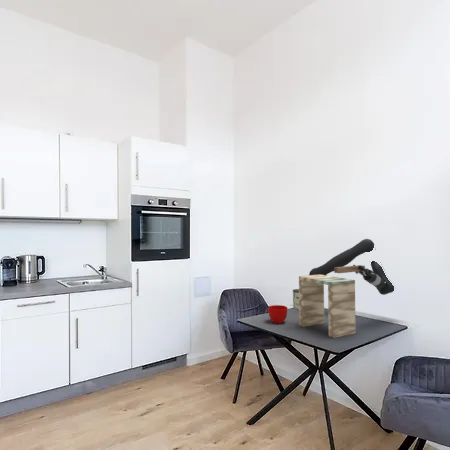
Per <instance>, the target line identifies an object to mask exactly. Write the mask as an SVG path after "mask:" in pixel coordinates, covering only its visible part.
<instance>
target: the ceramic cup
mask: <svg viewBox="0 0 450 450" xmlns="http://www.w3.org/2000/svg"><path fill="white" fill-rule="evenodd" d="M267 310H268V316H269V318H270V320H271V321H272V323H274V324H283V323H284V322H285V320H286V318H287V316H288V307H287V306H286V305H279V304H274V305H272V304H271V305H268V309H267Z"/></svg>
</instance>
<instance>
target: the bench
mask: <svg viewBox="0 0 450 450" xmlns="http://www.w3.org/2000/svg"><path fill="white" fill-rule="evenodd" d="M325 286H327V301H328V302H327V303H328V304H327V306H328V308H327V309H328V310H327V311H328V312H327V313H328V315H327V316H328V318H327V319H328V337H329V338H333V339H335V338H339V337H345V336H350V335H353V334H356V330H357V329H356V327H357V326H356V279H350V278H345V277H344V278H343V277H339V276H331V275H320V274H318V275H309V274H308V275H300V276H298V289H299V309H298V310H299V311H298V315H299V317H298V321H299V322H298V323H299V326H301V327H303V328H304V327H309V326H316V325H321V324H325Z"/></svg>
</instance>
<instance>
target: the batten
mask: <svg viewBox="0 0 450 450" xmlns="http://www.w3.org/2000/svg"><path fill="white" fill-rule="evenodd" d="M359 265H360V266H362V267H363V268H365V269H366V266H365V265H363V264H362V265H361V264H358V265H356V266H353V265H348V266H347V265H345V266H344V267H334V271H333V272H334V273H335V274H347V273H355V272H358V271H361V270H360V269H358V267H359Z"/></svg>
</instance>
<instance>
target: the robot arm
mask: <svg viewBox="0 0 450 450" xmlns="http://www.w3.org/2000/svg"><path fill="white" fill-rule="evenodd" d="M374 245H375V243H374V241H373V240H372V239H370V238H364V239H362V240H361V241H359V242H358V243H356V244H355V245H353V246H352V247H350V248H347V249H346V250H344V251H342V252H339V254H337V255H335V256H333V257H332V258H331V259H329V260H327V262H325V263H324V264H322V265H320V266H317V267H314V268H312V269H311V270H310V271H309V273H308V275H318V274H320V275H326V276H328V274H330V273H332V272H334V267H345V266H347V265H349V264H350V263H352V261H354V260H355V259H356V258H357V257H359V256H361V255H363V254H365V252H370V251H372V250H373V248H374ZM358 265H359V267H358V269H360V270H361V271H358V272H354V273H355V274H356V275H360V276H362V279H363V280H365V282H366V283H368V284H370V285H372V286H373V287H375V288H376V290H377V291H378V293H379V294H380V295H382V296H385V295H388V294H391V293H394V292H395V291H394V286H395V285H394V286H393V285H392V283H393V282H392V281H391V280H390V279H389V280H390V281H391V282H392V283H391V282H390V281H389V280H388V278H389V277H388V276H387V277H388V278H387V277H386V275H387V274H386V275H385V273H386V272H385V273H384V271H385V270H384V271H383V269H384V268H383V269H382V267H383V266H382V267H381V266H380V265H379V264H378V263H377V262H375V261H372V262H371V264H370V267H371V269H372V270H371V269H369V268H366V267H365V268H363V267H362V266H363V265H362V266H360V265H361V264H358ZM352 266H357V265H356V264H353V265H352ZM393 291H394V292H393Z"/></svg>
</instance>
